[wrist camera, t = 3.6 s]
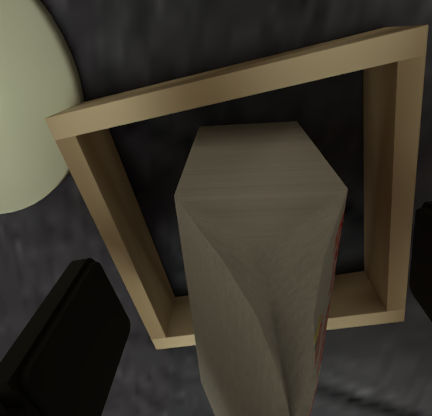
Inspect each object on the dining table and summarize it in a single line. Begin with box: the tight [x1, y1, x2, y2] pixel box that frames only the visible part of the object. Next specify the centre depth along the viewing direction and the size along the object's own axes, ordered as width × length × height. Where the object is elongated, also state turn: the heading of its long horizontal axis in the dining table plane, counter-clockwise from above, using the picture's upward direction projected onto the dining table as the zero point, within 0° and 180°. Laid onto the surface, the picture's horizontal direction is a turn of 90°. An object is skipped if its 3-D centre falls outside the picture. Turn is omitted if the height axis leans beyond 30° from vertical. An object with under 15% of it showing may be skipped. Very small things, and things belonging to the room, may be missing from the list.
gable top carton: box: [174, 121, 348, 416], centre depth 9 cm, size 4×7×10 cm, turn 4°
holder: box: [44, 25, 428, 349], centre depth 12 cm, size 11×11×2 cm
